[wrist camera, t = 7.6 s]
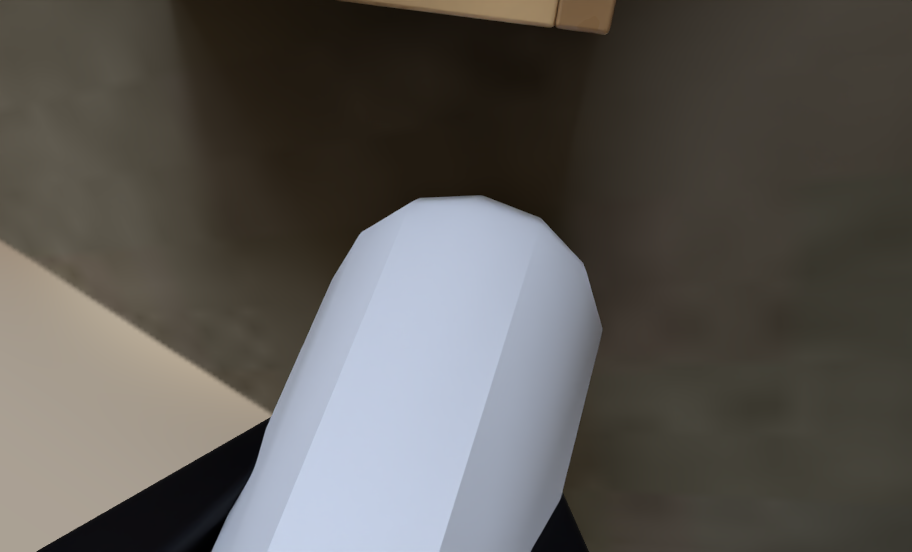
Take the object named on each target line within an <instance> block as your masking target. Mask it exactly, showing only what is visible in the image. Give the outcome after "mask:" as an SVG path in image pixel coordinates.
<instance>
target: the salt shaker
mask: <svg viewBox="0 0 912 552" xmlns="http://www.w3.org/2000/svg"><path fill="white" fill-rule="evenodd" d="M602 331H603V329H602V325H601V322H600V318H599V315H598V311H597V308H596V304H595V300H594V297H593V293H592V290H591V286H590V283H589V279H588V276H587V272H586V270H585V267H584V264H583V262H582V261H581V260H580V259H579V258H578V257H577V256H576V255H575V254H574V253H573V252H572V251H571V250H570V249H569V248H568V246H567V245H566V244H565V243H564V242H563V241H562V240H561V239H560V238H559V237H558V236H557V235H556V234H555V233H554V232H553V230H552V229H551V228H550V227H549V226H548V225H547V224H546V223H545V222H544V221H543V220H542V219H541V218H540V217H537V216H534V215H532V214H529V213H527V212H524V211H522V210H519V209H516V208H514V207H511V206H509V205H506V204H504V203H501V202H498V201H496V200H493V199H491V198H488V197H486V196H483V195H473V196H451V197H429V198H418V199H416V200H414V201H412V202H411V203H409V204H407V205H406V206H404V207H402V208H401V209H399V210H397V211H396V212H394V213H392V214H391V215H389V216H387V217H386V218H384V219H383V220H381V221H379V222H378V223H376V224H374V225H373V226H371V227H369V228H368V229H366V230H364V231H363V232H361V233H360V235H359V236H358V238H357V240H356V241H355V243H354V244H353V246H352V248H351V249H350V251H349V253H348V254H347V256H346V258H345V259H344V261H343V262H342V264H341V266H340V267H339V269H338V271H337V272H336V274H335V275H334V277H333V279H332V281H331V283H330V285H329V288H328V290H327V292H326V294H325V297H324V299H323V301H322V303H321V306H320V308H319V310H318V313H317V315H316V317H315V319H314V322H313V324H312V326H311V328H310V331H309V333H308V335H307V337H306V340H305V342H304V344H303V346H302V349H301V351H300V353H299V355H298V358H297V360H296V362H295V364H294V367H293V369H292V371H291V373H290V376H289V378H288V380H287V382H286V385H285V387H284V389H283V391H282V394H281V396H280V398H279V400H278V403H277V405H276V407H275V409H274V412H273V414H272V416H271V418H270V421H269V423H268V425H267V428H266V430H265V434H264V437H263V441H262V444H261V448H260V451H259V455H258V458H257V462H256V465H255V467H254V470H253V472H252V474H251V476H250V478H249V480H248V482H247V484H246V485H245V487H244V489H243V490H242V492H241V494H240V495H239V497H238V499H237V500H236V502H235V504H234V505H233V507H232V509H231V510H230V512H229V514H228V515H227V518H226V520H225V522H224V524H223V527H222V529H221V531H220V534H219V536H218V538H217V540H216V543H215V545H214V547H213V549H212V552H531V550H532V548H533V546H534V544H535V543H536V541H537V539H538V537H539V536H540V534H541V532H542V531H543V529H544V527H545V525H546V524H547V522H548V520H549V518H550V517H551V515H552V513H553V511H554V510H555V508H556V506H557V504H558V503H559V501H560V499H561V495H562V491H563V487H564V483H565V479H566V475H567V471H568V467H569V463H570V459H571V455H572V451H573V447H574V443H575V439H576V435H577V431H578V427H579V423H580V419H581V415H582V411H583V407H584V403H585V399H586V395H587V391H588V387H589V383H590V379H591V375H592V371H593V367H594V363H595V359H596V355H597V351H598V347H599V343H600V339H601V335H602Z"/></svg>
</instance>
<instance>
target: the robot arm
mask: <svg viewBox="0 0 912 552" xmlns="http://www.w3.org/2000/svg"><path fill="white" fill-rule="evenodd" d="M270 418H271V417H270ZM270 418H268V419H267V420H265V421H263V422H261V423H260V424H258V425H256V426H255V427H253V428H251V429H249V430H247V431H246V432H244V433H242V434H241V435H239V436H237V437H235V438H234V439H232V440H230V441H228V442H227V443H225V444H223V445H222V446H220V447H218V448H216V449H214V450H213V451H211V452H209V453H207V454H206V455H204V456H202V457H200V458H199V459H197V460H195V461H194V462H192V463H190V464H188V465H186V466H185V467H183V468H181V469H180V470H178V471H176V472H174V473H172V474H171V475H169V476H167V477H166V478H164V479H162V480H160V481H158V482H157V483H155V484H153V485H151V486H150V487H148V488H147V489H144V490H143V491H141V492H139V493H138V494H136V495H134V496H133V497H131V498H129V499H127V500H125V501H124V502H122V503H120V504H118V505H117V506H115V507H113V508H112V509H110V510H108V511H106V512H105V513H103V514H101V515H99V516H97V517H96V518H94V519H92V520H90V521H89V522H87V523H85V524H84V525H82V526H80V527H78V528H77V529H75V530H73V531H71V532H70V533H68V534H66V535H64V536H62V537H61V538H59V539H57V540H56V541H54V542H52V543H50V544H49V545H47V546H45V547H43V548H42V549H40V550H38V551H37V552H212V549H213V547H214V545H215V543H216V540H217V538H218V536H219V534H220V531H221V529H222V527H223V524H224V522H225V520H226V518H227V515H228V514H229V512H230V510H231V509H232V507H233V505H234V504H235V502H236V500H237V499H238V497H239V495H240V494H241V492H242V490H243V489H244V487H245V485H246V484H247V482H248V480H249V478H250V476H251V474H252V472H253V470H254V467H255V465H256V462H257V458H258V455H259V451H260V448H261V444H262V441H263V437H264V434H265V430H266V428H267V425H268V423H269V421H270ZM531 552H589V551H588V548H587V546H586V544H585V542H584V539H583V537H582V535H581V533H580V530H579V528H578V526H577V524H576V521H575V519H574V517H573V515H572V512H571V510H570V508H569V506H568V503H567V501H566V499H565V497H564V494H563V492H562V495H561V499H560V501H559V503H558V504H557V506H556V508H555V510H554V511H553V513H552V515H551V517H550V518H549V520H548V522H547V524H546V525H545V527H544V529H543V531H542V532H541V534H540V536H539V537H538V539H537V541H536V543H535V544H534V546H533V548H532V550H531Z"/></svg>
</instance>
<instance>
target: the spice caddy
mask: <svg viewBox="0 0 912 552" xmlns="http://www.w3.org/2000/svg"><path fill="white" fill-rule="evenodd" d="M337 1H344V2H352V3H360V4H368V5H376V6H384V7H391V8H399V9H407V10H415V11H423V12H431V13H438V14H446V15H454V16H462V17H470V18H478V19H485V20H493V21H501V22H509V23H517V24H525V25H532V26H540V27H548V28H550V27H553V26H554V25H556V27H557V28H559V29H564V30H572V31H580V32H587V33H595V34H603V35H604V34H607V33H608V32H609V30H610V27H611V23H612V18H613V13H614V9H615V4H616V0H337Z"/></svg>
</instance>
